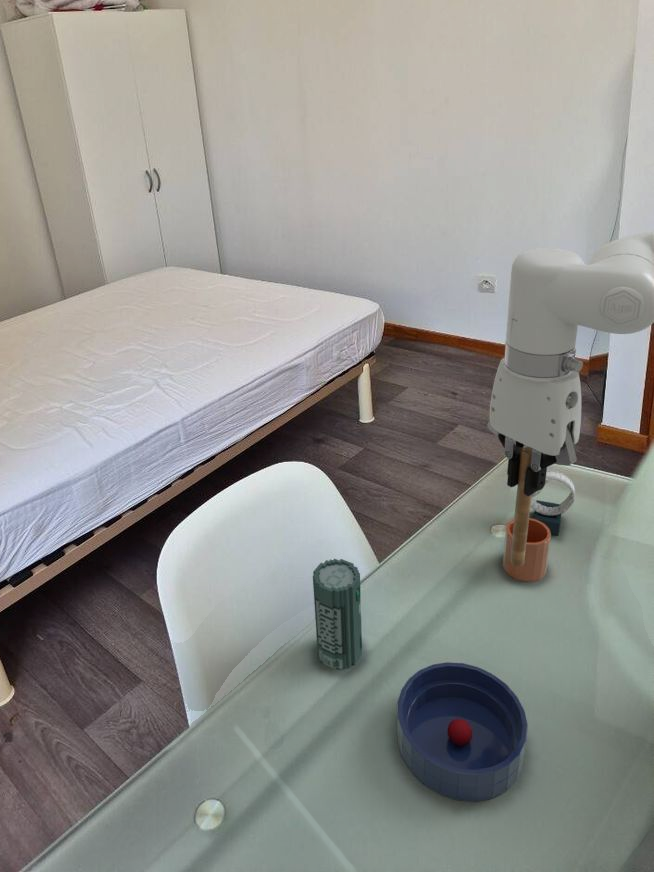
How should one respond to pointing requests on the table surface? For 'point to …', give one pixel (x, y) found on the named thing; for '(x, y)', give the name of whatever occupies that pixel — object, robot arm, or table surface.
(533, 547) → the crock
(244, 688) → the table surface
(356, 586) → the can
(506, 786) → the bowl
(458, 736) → the ball
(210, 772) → the table surface
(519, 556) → the stick
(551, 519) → the watch
